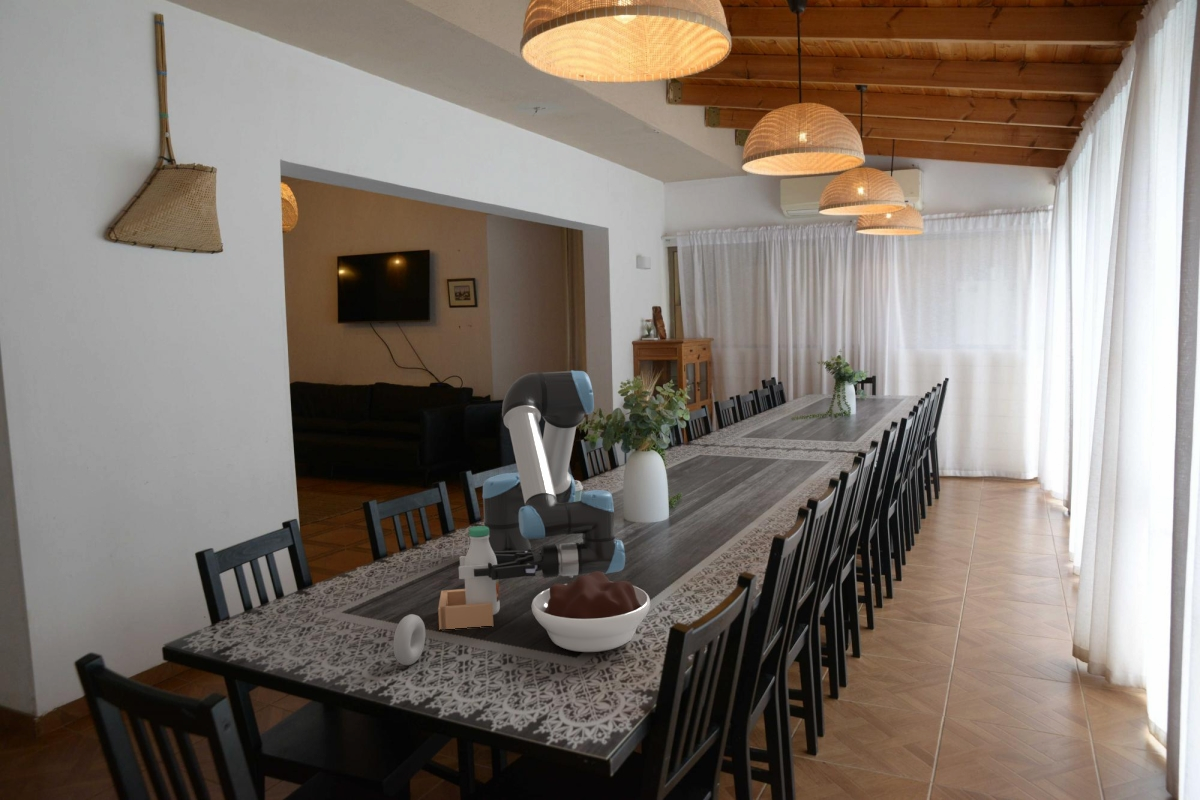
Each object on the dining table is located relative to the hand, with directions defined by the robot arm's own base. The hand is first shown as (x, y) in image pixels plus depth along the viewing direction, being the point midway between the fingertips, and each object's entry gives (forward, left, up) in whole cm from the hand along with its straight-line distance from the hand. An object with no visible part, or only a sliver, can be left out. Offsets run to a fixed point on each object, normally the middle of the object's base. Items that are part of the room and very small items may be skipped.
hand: (459, 567), depth 193 cm
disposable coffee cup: (-23, +84, -12) cm, 88 cm away
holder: (+1, +2, -12) cm, 12 cm away
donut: (+6, -24, -13) cm, 28 cm away
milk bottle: (+4, +3, -11) cm, 12 cm away
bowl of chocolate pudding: (+34, +1, -13) cm, 37 cm away
